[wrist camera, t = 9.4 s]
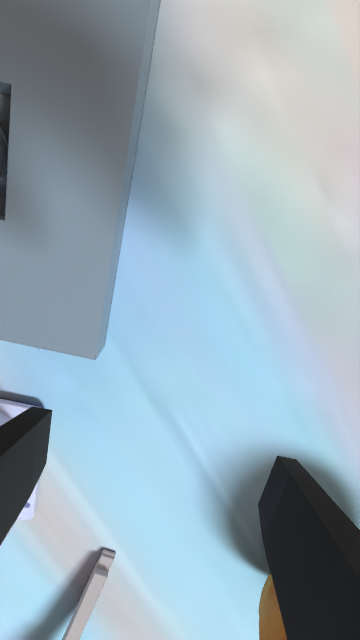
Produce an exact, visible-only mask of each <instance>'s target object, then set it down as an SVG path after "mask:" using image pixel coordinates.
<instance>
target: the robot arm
mask: <svg viewBox="0 0 360 640" xmlns="http://www.w3.org/2000/svg"><path fill="white" fill-rule="evenodd" d="M51 416H52V410H49V409H44V408H41V407H38V406H34V405H29V404H24V403H19V402H14V401H9V400H4V399H0V548H1V546H2V544H3V542H4V541H5V539H6V537H7V535H8V534H9V532H10V530H11V528H12V526H13V525H14V523H15V521H16V519H22V520H30V519H32V517H33V515H34V513H35V505H36V496H37V487H38V480H39V477H40V475H41V473H42V471H43V469H44V467H45V464H46V460H47V452H48V443H49V434H50V425H51ZM258 506H259V515H260V524H261V531H262V538H263V543H264V547H265V551H266V556H267V560H268V564H269V568H270V572H271V576H272V580H273V584H274V588H275V592H276V596H277V600H278V604H279V608H280V612H281V616H282V620H283V625H284V629H285V633H286V637H287V640H360V530H359V529H358V528H357V527H356V526H355V525H354V523H353V522H352V521H351V520H350V519H349V518H348V517H347V516H346V515H345V514H344V512H343V511H342V510H341V509H340V508H339V507H338V506H337V505H336V504H335V502H334V501H333V500H332V499H331V498H330V497H329V496H328V495H327V493H326V492H325V491H324V490H323V489H322V488H321V487H320V485H319V484H318V483H317V482H316V481H315V480H314V479H313V478H312V476H311V475H310V474H309V473H308V472H307V471H306V470H305V469H304V468H303V466H302V465H301V464H300V463H299V462H298V461H297V460H296V459H291V458H286V457H281V456H277V458H276V460H275V463H274V465H273V468H272V471H271V473H270V476H269V478H268V481H267V483H266V486H265V488H264V491H263V493H262V496H261V498H260V501H259V504H258Z"/></svg>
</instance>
